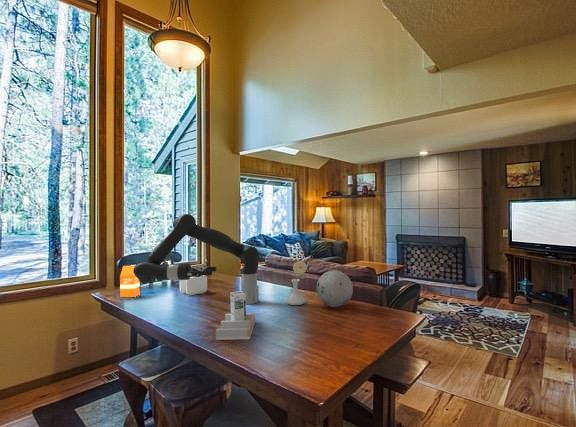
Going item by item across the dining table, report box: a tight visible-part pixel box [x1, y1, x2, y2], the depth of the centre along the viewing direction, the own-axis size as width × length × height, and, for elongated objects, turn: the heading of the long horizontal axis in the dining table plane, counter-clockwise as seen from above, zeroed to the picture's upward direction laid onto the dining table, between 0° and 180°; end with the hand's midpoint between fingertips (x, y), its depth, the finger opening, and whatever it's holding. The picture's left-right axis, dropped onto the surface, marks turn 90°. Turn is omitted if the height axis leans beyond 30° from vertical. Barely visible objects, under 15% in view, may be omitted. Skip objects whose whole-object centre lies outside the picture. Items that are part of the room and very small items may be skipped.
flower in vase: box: [285, 260, 308, 306], centre depth 182 cm, size 13×11×25 cm
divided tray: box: [215, 312, 256, 341], centre depth 143 cm, size 14×22×4 cm, turn 0°
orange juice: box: [119, 265, 141, 298], centre depth 205 cm, size 8×9×20 cm
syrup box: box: [230, 291, 247, 320], centre depth 148 cm, size 6×6×14 cm
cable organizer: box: [178, 275, 208, 296], centre depth 212 cm, size 15×11×12 cm
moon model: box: [316, 269, 354, 308], centre depth 176 cm, size 20×20×20 cm
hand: (214, 270), depth 148 cm, fingers open, 8 cm apart
